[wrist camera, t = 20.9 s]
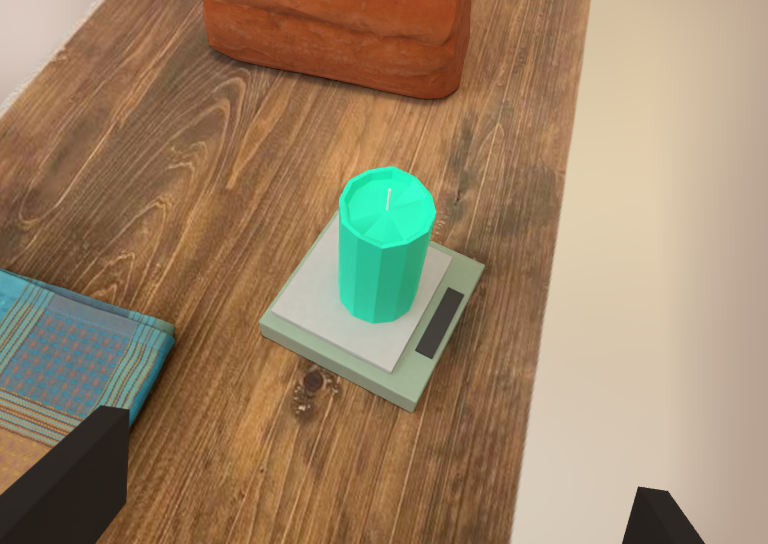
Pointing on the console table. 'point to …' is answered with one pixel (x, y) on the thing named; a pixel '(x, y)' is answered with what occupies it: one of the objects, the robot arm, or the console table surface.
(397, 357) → the scale
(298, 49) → the bread
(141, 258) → the console table surface
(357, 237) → the candle
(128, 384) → the dish towel
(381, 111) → the console table surface
